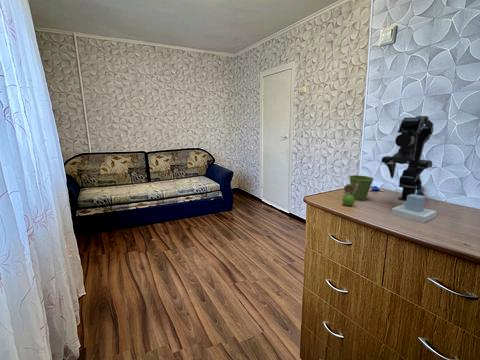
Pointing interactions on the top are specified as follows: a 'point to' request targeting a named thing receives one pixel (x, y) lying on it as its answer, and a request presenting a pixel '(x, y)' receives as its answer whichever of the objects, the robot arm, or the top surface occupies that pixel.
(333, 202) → the top surface
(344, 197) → the snail figurine
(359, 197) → the plant pot
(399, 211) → the base
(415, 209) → the block
